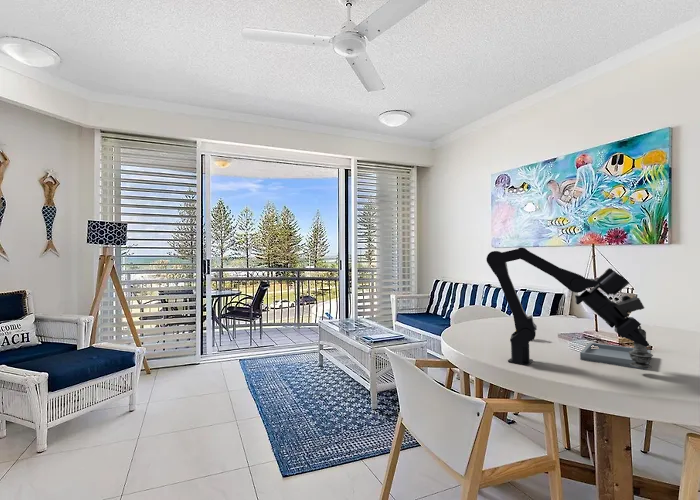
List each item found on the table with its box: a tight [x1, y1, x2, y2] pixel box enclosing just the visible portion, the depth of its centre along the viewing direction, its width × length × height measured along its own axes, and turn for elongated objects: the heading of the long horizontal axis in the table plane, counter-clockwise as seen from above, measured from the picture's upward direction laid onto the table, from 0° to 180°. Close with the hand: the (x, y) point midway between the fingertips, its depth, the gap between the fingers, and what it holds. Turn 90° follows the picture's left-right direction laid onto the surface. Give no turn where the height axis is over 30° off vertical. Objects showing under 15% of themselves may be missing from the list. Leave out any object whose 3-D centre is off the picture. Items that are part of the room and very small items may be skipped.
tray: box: [579, 342, 652, 371], centre depth 127 cm, size 18×18×2 cm
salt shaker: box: [628, 325, 654, 369], centre depth 111 cm, size 6×6×12 cm
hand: (646, 344), depth 110 cm, fingers closed on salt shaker, 4 cm apart
